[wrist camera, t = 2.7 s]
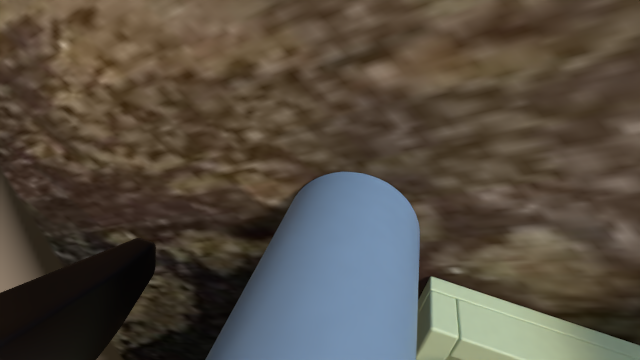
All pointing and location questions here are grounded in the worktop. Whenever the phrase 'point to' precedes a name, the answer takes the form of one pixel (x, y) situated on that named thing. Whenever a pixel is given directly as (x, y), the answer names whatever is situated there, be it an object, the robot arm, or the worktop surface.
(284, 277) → the blue bottle
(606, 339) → the tray
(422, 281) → the worktop surface
